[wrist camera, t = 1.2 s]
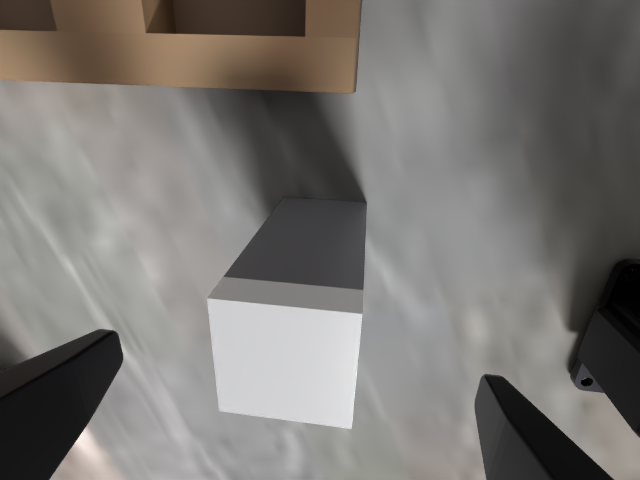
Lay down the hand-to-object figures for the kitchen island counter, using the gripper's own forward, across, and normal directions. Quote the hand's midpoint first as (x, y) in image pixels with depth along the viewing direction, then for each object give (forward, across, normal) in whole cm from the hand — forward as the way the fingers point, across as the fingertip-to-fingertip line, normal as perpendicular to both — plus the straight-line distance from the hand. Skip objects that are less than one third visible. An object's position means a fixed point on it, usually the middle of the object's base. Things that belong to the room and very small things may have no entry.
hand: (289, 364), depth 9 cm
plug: (+8, 0, 0) cm, 8 cm away
